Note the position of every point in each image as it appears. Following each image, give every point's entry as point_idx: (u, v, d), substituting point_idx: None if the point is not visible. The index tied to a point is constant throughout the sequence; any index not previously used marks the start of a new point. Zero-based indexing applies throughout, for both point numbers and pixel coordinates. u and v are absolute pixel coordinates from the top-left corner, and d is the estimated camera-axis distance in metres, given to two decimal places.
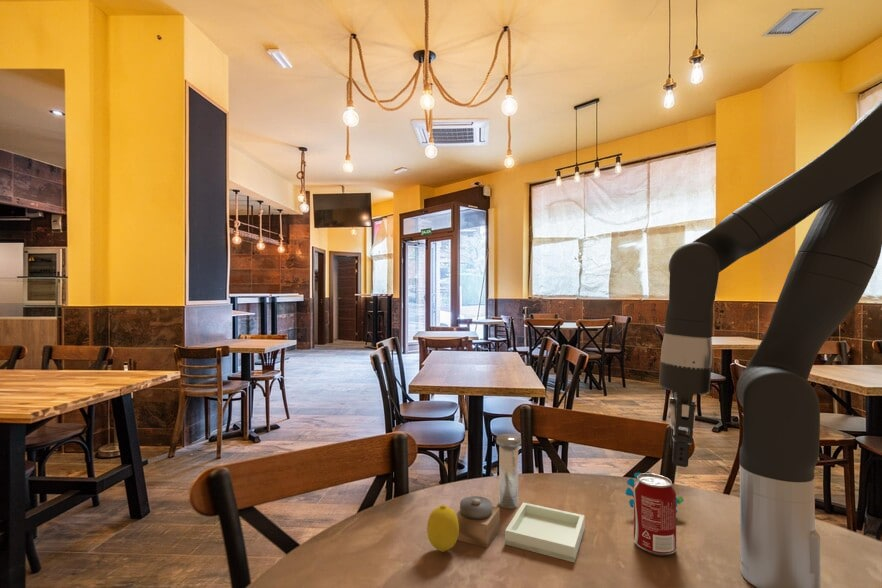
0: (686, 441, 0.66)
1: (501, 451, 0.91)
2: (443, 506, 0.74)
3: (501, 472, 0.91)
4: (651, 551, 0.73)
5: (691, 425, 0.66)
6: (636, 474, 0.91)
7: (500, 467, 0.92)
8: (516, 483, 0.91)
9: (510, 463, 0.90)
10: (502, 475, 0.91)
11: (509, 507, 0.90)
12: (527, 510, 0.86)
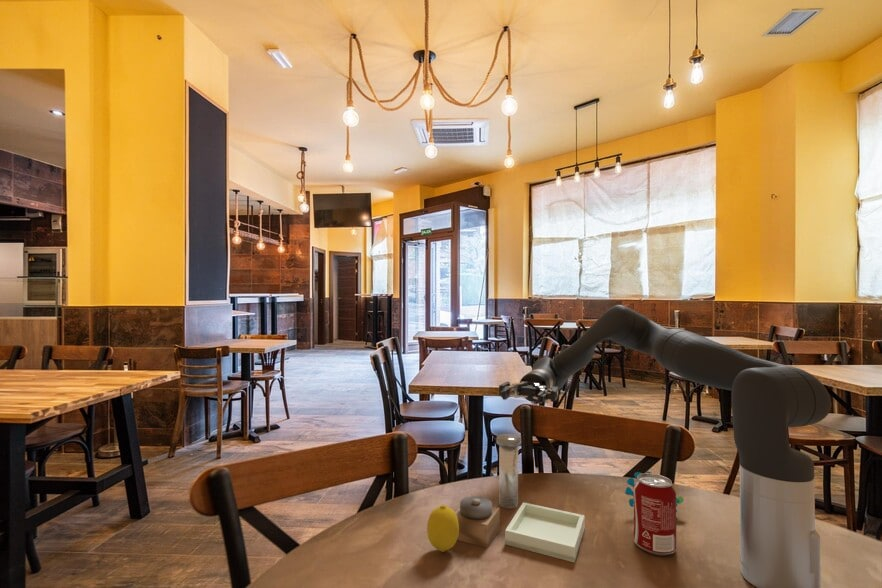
0: (499, 388, 1.10)
1: (501, 451, 0.91)
2: (443, 506, 0.74)
3: (501, 472, 0.91)
4: (651, 551, 0.73)
5: (502, 384, 1.12)
6: (636, 474, 0.91)
7: (500, 467, 0.92)
8: (516, 483, 0.91)
9: (510, 463, 0.90)
10: (502, 475, 0.91)
11: (509, 507, 0.90)
12: (527, 510, 0.86)
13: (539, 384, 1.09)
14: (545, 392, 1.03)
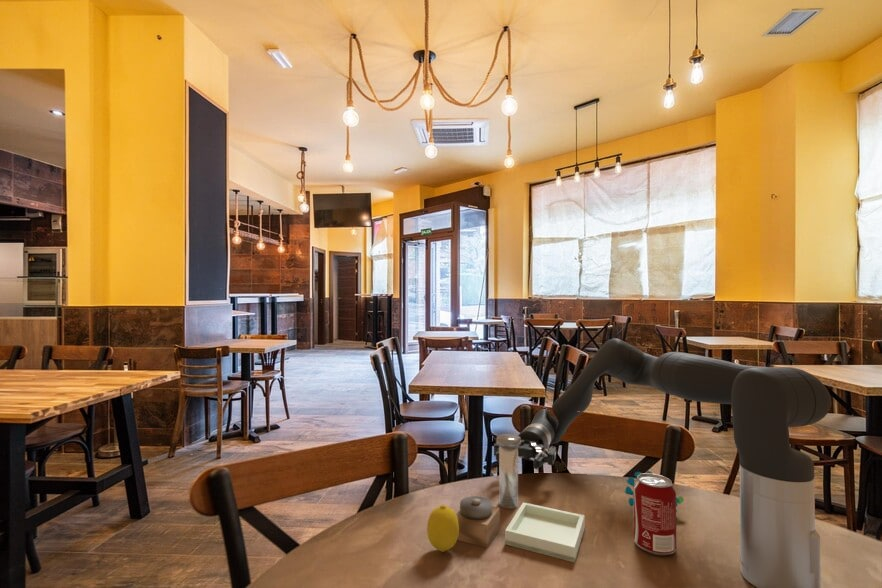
0: None
1: (501, 451, 0.91)
2: (443, 506, 0.74)
3: (501, 472, 0.91)
4: (651, 551, 0.73)
5: None
6: (636, 473, 0.91)
7: (500, 467, 0.92)
8: (516, 483, 0.91)
9: (510, 463, 0.90)
10: (502, 475, 0.91)
11: (509, 507, 0.90)
12: (527, 510, 0.86)
13: (536, 444, 1.04)
14: (542, 455, 0.98)
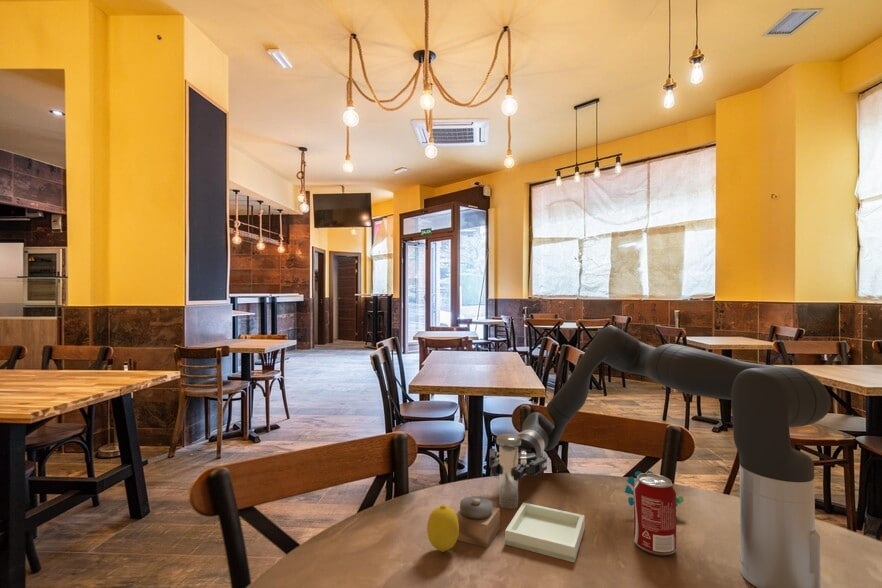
0: None
1: (501, 451, 0.91)
2: (443, 506, 0.74)
3: (501, 472, 0.91)
4: (651, 551, 0.73)
5: None
6: (637, 473, 0.92)
7: (500, 467, 0.92)
8: (516, 483, 0.91)
9: (510, 463, 0.90)
10: (502, 475, 0.91)
11: (509, 507, 0.90)
12: (527, 510, 0.86)
13: (526, 453, 0.97)
14: (523, 465, 0.92)
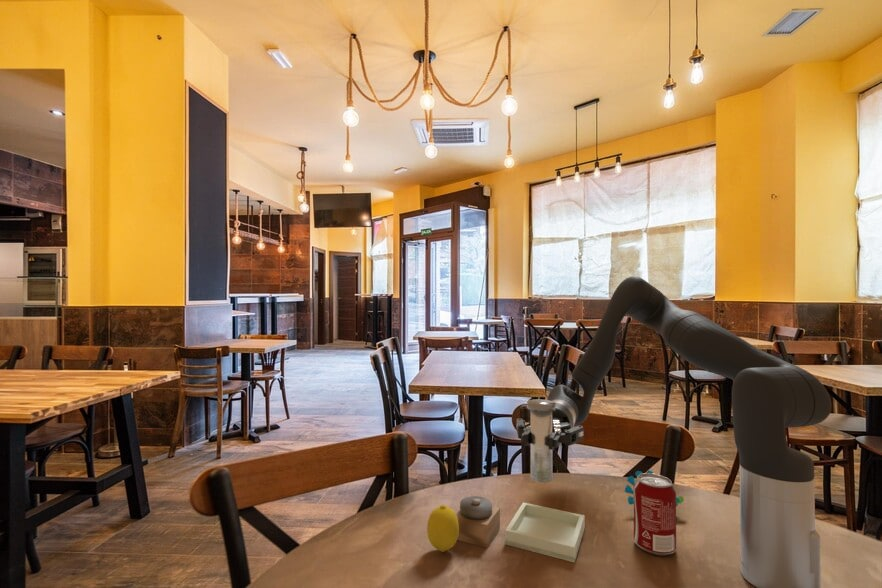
0: (518, 429, 0.85)
1: (533, 417, 0.80)
2: (443, 506, 0.74)
3: (533, 441, 0.80)
4: (651, 551, 0.73)
5: (517, 423, 0.87)
6: (637, 472, 0.92)
7: (532, 435, 0.80)
8: (550, 453, 0.80)
9: (544, 431, 0.79)
10: (534, 445, 0.80)
11: (543, 480, 0.79)
12: (527, 510, 0.86)
13: (559, 422, 0.86)
14: (558, 433, 0.81)
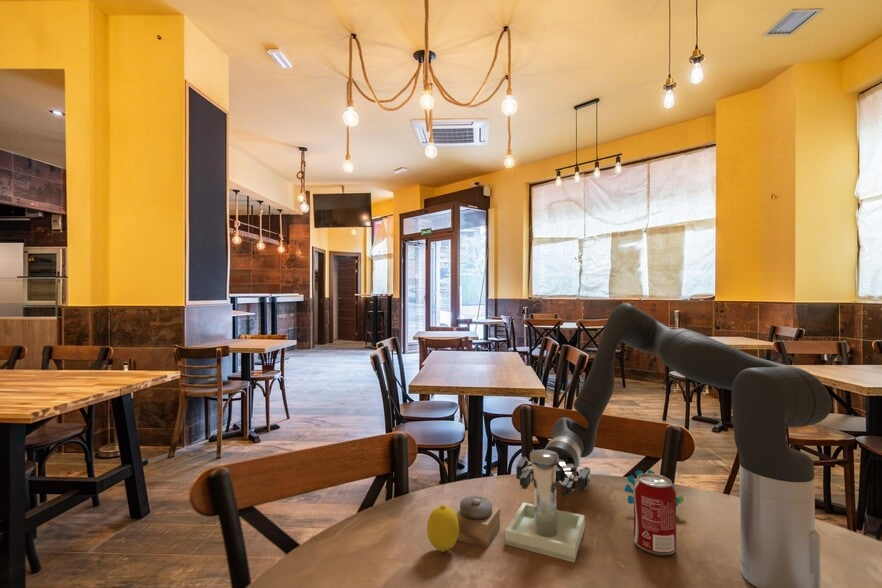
0: (516, 469, 0.85)
1: (536, 470, 0.79)
2: (443, 506, 0.74)
3: (536, 495, 0.79)
4: (651, 551, 0.73)
5: None
6: (637, 472, 0.92)
7: (535, 489, 0.79)
8: (555, 507, 0.78)
9: (547, 485, 0.78)
10: (538, 499, 0.78)
11: (548, 535, 0.78)
12: (527, 510, 0.86)
13: (565, 464, 0.84)
14: (571, 479, 0.79)
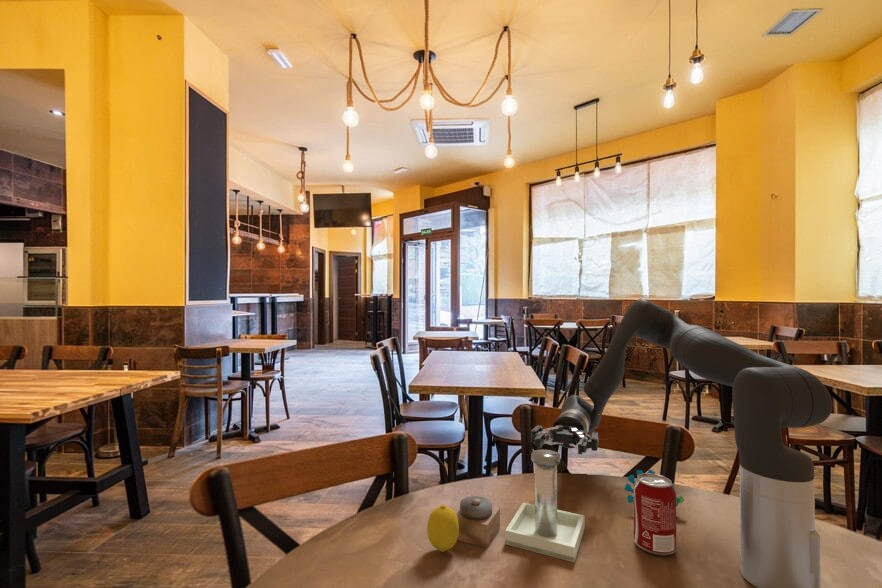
0: None
1: (537, 470, 0.79)
2: (443, 506, 0.74)
3: (537, 495, 0.79)
4: (651, 551, 0.73)
5: None
6: (637, 471, 0.92)
7: (536, 488, 0.79)
8: (555, 507, 0.78)
9: (548, 484, 0.78)
10: (539, 498, 0.79)
11: (548, 535, 0.78)
12: (527, 510, 0.86)
13: (576, 429, 0.96)
14: (585, 440, 0.91)
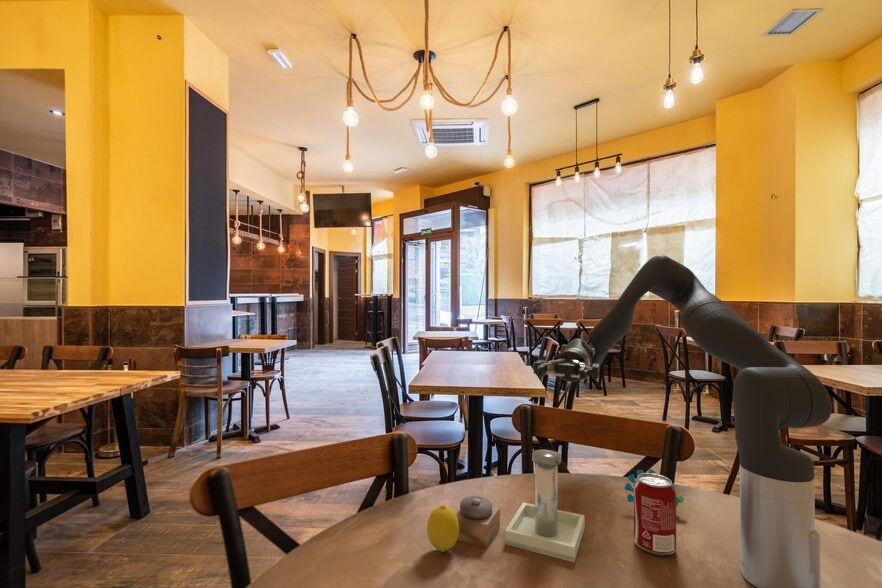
0: None
1: (538, 470, 0.79)
2: (443, 506, 0.74)
3: (538, 494, 0.79)
4: (651, 551, 0.73)
5: (536, 362, 1.02)
6: (638, 471, 0.93)
7: (537, 488, 0.79)
8: (555, 507, 0.78)
9: (549, 484, 0.78)
10: (539, 498, 0.79)
11: (548, 535, 0.78)
12: (527, 510, 0.86)
13: (578, 361, 0.99)
14: (586, 368, 0.94)
